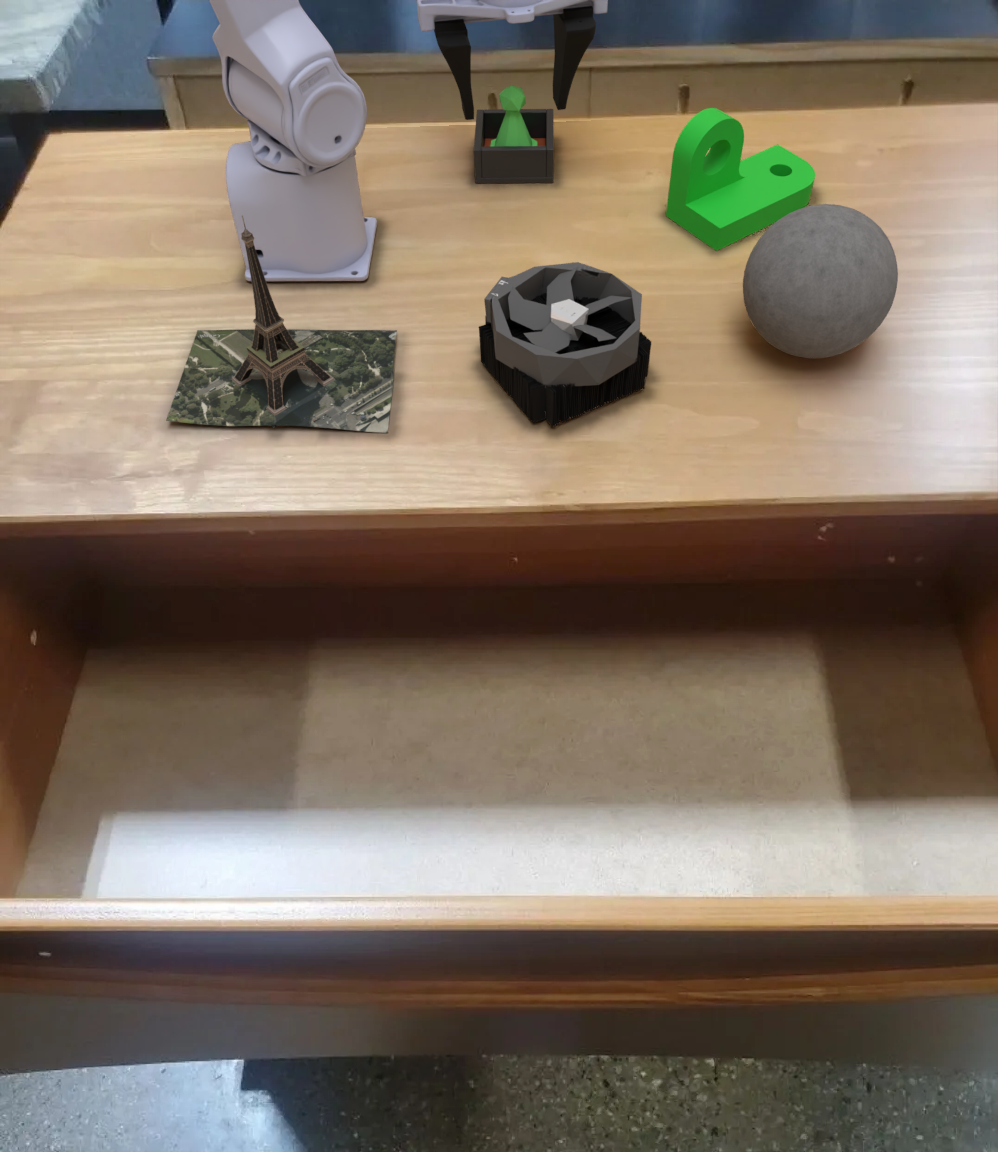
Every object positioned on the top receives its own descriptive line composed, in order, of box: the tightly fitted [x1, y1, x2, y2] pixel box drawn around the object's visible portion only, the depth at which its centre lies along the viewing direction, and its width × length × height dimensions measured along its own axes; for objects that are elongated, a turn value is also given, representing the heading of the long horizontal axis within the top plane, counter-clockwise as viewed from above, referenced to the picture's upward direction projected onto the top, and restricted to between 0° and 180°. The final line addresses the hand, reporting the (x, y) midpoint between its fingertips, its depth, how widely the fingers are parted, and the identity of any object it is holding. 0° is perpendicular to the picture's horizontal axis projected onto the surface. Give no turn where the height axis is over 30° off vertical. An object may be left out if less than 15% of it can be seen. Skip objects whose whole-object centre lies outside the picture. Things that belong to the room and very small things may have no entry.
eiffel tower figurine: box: [165, 216, 398, 434], centre depth 66 cm, size 15×10×13 cm
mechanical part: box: [665, 107, 816, 252], centre depth 80 cm, size 12×6×8 cm, turn 125°
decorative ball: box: [742, 203, 899, 359], centre depth 69 cm, size 10×10×10 cm
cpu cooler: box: [478, 261, 652, 428], centre depth 69 cm, size 10×6×10 cm
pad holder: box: [473, 108, 555, 184], centre depth 87 cm, size 7×7×3 cm
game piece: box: [490, 85, 537, 147], centre depth 85 cm, size 4×4×6 cm
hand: (513, 109), depth 85 cm, fingers open, 7 cm apart
